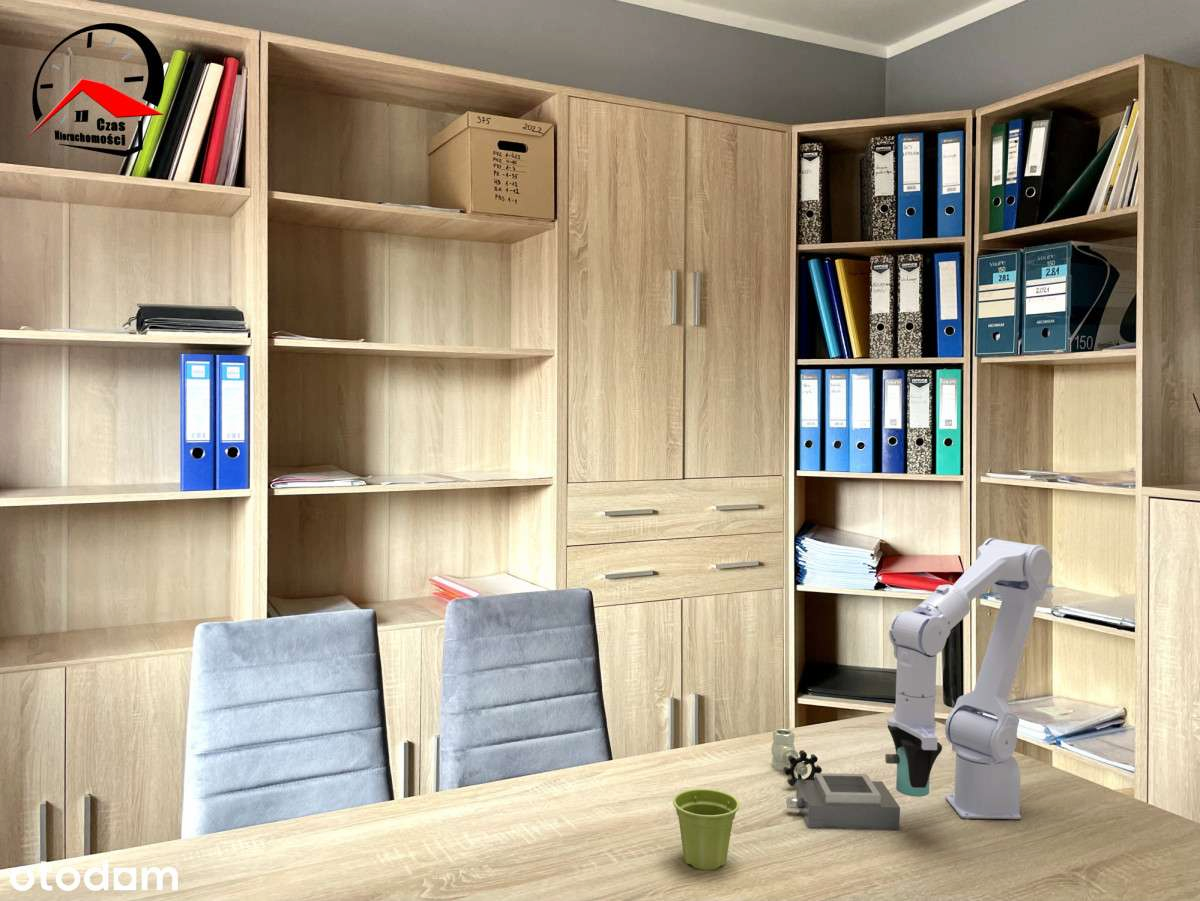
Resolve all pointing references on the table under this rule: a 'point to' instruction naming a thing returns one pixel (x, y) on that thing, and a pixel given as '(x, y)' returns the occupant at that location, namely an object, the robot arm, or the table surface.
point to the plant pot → (705, 826)
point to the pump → (905, 774)
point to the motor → (845, 802)
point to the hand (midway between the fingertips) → (912, 779)
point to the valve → (791, 757)
